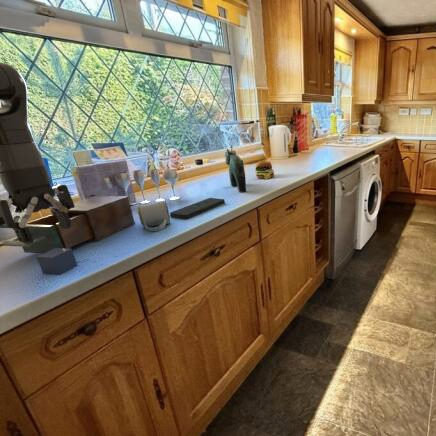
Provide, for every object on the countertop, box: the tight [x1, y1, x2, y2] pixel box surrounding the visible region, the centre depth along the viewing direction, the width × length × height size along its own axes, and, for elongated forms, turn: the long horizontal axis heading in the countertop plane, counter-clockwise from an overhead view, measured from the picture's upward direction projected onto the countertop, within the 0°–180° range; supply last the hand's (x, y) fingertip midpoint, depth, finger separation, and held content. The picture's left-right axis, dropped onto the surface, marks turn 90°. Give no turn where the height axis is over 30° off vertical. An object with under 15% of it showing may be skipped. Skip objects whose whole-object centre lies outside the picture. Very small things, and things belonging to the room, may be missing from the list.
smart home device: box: [169, 197, 226, 220], centre depth 114 cm, size 8×2×20 cm
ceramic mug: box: [137, 200, 172, 232], centre depth 97 cm, size 11×8×8 cm
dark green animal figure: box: [224, 144, 247, 193], centre depth 141 cm, size 20×6×20 cm, turn 28°
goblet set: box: [103, 168, 182, 206], centre depth 124 cm, size 28×6×13 cm, turn 117°
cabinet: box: [50, 196, 136, 243], centre depth 94 cm, size 15×13×10 cm
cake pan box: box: [70, 159, 137, 203], centre depth 119 cm, size 19×5×18 cm, turn 155°
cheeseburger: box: [255, 160, 275, 180], centre depth 164 cm, size 10×11×10 cm
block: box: [35, 248, 78, 276], centre depth 72 cm, size 5×5×5 cm
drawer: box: [1, 213, 94, 255], centre depth 82 cm, size 18×11×8 cm, turn 170°
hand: (48, 235), depth 70 cm, fingers open, 8 cm apart
